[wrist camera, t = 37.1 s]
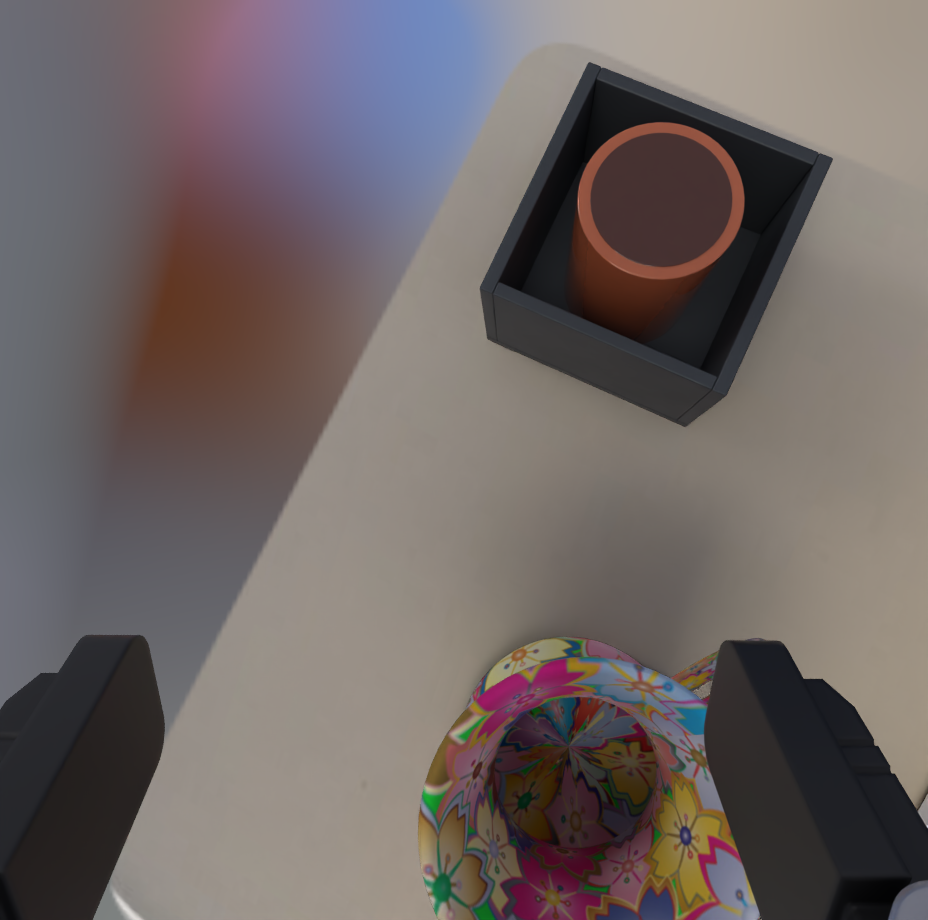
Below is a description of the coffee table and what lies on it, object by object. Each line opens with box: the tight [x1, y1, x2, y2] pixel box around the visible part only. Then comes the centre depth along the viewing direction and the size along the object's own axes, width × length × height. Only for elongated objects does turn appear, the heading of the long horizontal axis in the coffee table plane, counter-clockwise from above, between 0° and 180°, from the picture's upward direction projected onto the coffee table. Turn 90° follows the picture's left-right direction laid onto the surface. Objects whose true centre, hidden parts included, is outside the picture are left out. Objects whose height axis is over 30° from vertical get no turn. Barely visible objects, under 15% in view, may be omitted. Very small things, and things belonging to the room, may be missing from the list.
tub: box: [480, 62, 833, 427], centre depth 30 cm, size 9×9×6 cm
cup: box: [564, 122, 745, 344], centre depth 29 cm, size 5×5×8 cm
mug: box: [418, 637, 766, 920], centre depth 26 cm, size 12×9×11 cm
